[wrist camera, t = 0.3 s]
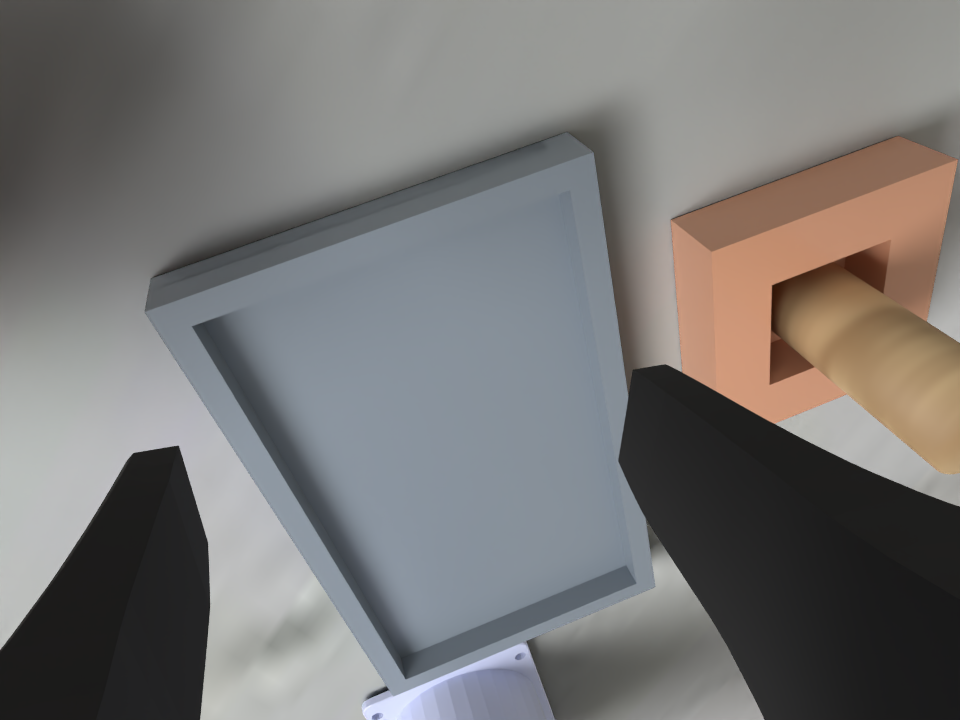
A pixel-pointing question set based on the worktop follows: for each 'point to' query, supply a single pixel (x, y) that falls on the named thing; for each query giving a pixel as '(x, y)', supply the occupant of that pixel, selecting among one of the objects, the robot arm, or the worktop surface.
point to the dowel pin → (876, 357)
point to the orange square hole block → (803, 264)
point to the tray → (431, 405)
